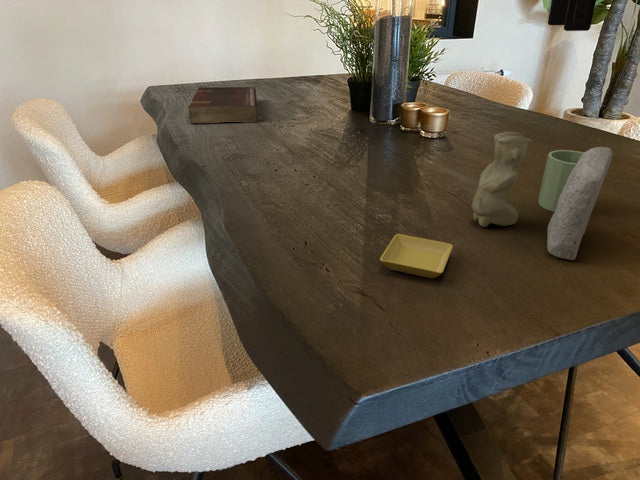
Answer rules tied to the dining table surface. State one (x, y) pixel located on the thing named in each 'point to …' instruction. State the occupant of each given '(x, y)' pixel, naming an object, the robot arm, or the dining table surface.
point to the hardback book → (223, 105)
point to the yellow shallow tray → (416, 256)
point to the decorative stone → (577, 203)
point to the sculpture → (499, 181)
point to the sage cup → (556, 176)
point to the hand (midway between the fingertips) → (567, 27)
